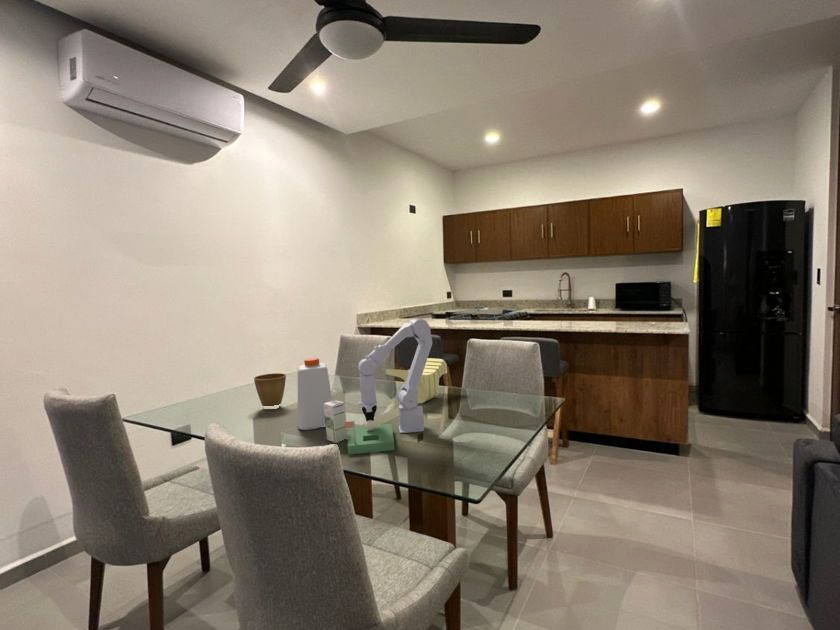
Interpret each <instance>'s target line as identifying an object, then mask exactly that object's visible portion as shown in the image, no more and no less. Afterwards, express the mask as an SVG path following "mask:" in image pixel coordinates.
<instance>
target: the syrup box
mask: <svg viewBox="0 0 840 630" xmlns="http://www.w3.org/2000/svg"><path fill="white" fill-rule="evenodd" d="M345 412H346V411H345V402H344V401H339V400H332V401H329V402H327V403H324V415H325V427H326V428H325V438H326V441H327V442H330V443H333V444H337V443H341V442H343V441H345V440H344V439H346V438H347V439H348V437H347V435H348V434H347V428H345V426H344V422H346V413H345ZM347 439H346V440H347ZM342 440H343V441H342ZM340 441H341V442H340Z"/></svg>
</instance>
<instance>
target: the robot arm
mask: <svg viewBox="0 0 840 630" xmlns="http://www.w3.org/2000/svg"><path fill="white" fill-rule="evenodd" d="M431 329H432V328H431V326H430V325H429V323H428V321H426V320H425V319H420V318H418V317H412V318H410V319H409V320H408V321H407V322H405V323H404V324H403V325H402V326H400V328H399V329H398V330H397V331H396V332H395V333H394V334H393V335H392V336H391V337H390V338H389V339H388V340H387V341H386V342H385V343H384V344H378V346H377V345H375V346H374V347H373V348H374V349H373V350H372V351H371V352H370V353H369V354H368V355H365V356H364V357H365V358H363V359H361V360H360V361H359V362H358V365H357V369H358V371H359V386H360V398H361V399H360V400H361V401H359V402H358V406H361V411H362V413H363V414H364V417H365V420H366V421H365V423H366V422H367V421H368V420H373V421H374V422H375V414H376V412H377V410H378V407H377V404H378V401H377V390H376V378H375V373H376V369H377V368H378V367H379V366H380V365H381V364H382V363H383V362H384V361H385V360H386V359H388V357H390V354H391V351H392V350H393V349H394V348H395V347H396V346H397V345H399V344H400V343H401V342H402V341H403V340H405V339H406V338H411V337H414V339H415V340H416V341H417V344H418V345H417V347H416V350H415V353H414V357H413V360H412V362H411V365H410V368H409V370H410V371H409V374H408V377H407V380H406V382H405V381H404V383H403V384H402V386H401V388H400V390H398V392H397V394H396V398H397V401H398V402H399V406H398V413H399V416H398V418H399V425H398V431H399V433H400V434H407V433H408V434H409V433H417V432H424V431H425V421H424V409H423V407H422V405H421V406H419V405H418V394H419V387H418V386H419V383H420V379H421V376H422V373H423V370H424V367H425V364H426V361H427V358H429V354H430V352H431V349H432V346H433V337H432V333H431Z"/></svg>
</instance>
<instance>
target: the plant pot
mask: <svg viewBox="0 0 840 630" xmlns="http://www.w3.org/2000/svg"><path fill="white" fill-rule="evenodd" d="M286 378H287V375H286V373H279V372H278V373H273V372H272V373H266V374H260V375H257V376H254V377H253V380H254V385H255V389H256V390H255V391H256V392H257V393H256V394H257V395H258V398H259V400H260V401H259V402H260V404H261V405H262V407H263V406H274V405H279V404H282V402H283V398H284V394H285V386H286Z"/></svg>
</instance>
